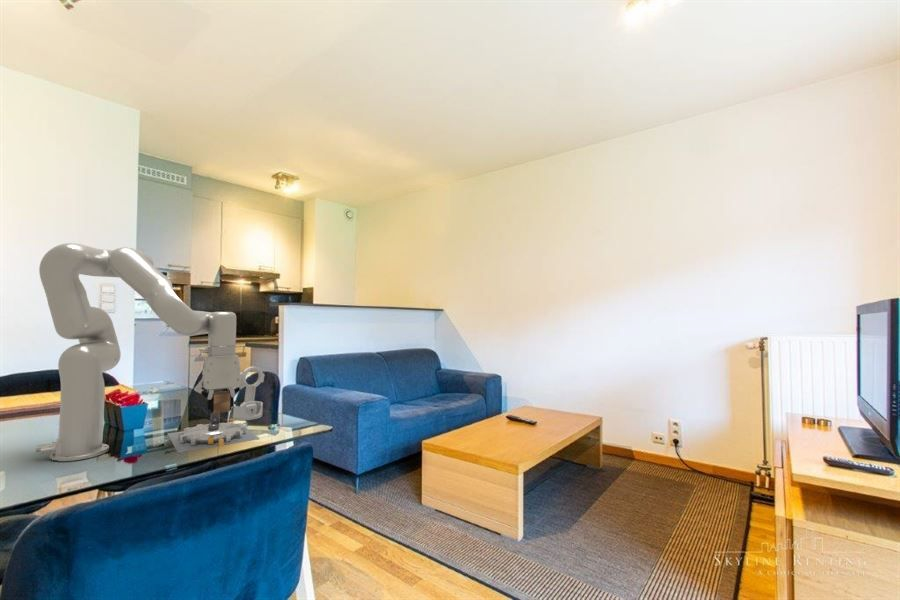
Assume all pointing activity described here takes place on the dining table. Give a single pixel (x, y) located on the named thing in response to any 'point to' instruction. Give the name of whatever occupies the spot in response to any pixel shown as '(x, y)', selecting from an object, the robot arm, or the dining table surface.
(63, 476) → the dining table surface
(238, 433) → the sprocket
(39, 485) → the dining table surface
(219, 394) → the link block
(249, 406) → the engine component
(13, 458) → the dining table surface
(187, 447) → the base plate
